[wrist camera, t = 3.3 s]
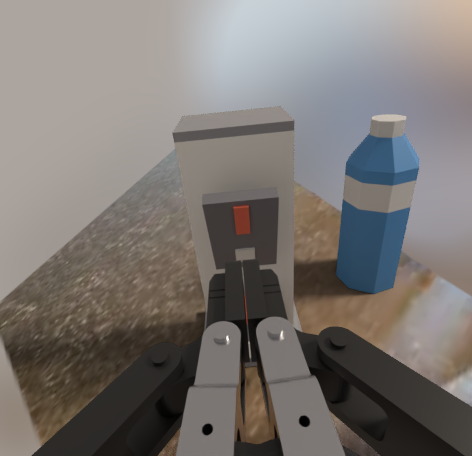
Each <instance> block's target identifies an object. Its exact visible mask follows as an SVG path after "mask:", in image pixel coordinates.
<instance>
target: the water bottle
mask: <svg viewBox="0 0 472 456" xmlns="http://www.w3.org/2000/svg"><path fill="white" fill-rule="evenodd" d="M405 120H406V116H401V115H378V116H373V117H372V119H371V128H370V133H369V135H368V136H367V137H366V138H365V139H364V140H363V142H362V143H361V144H360V145H359V146H358V147H357V149H355V151H354V152H353V153H352V154H351V156H350V157H349V159H348V161H347V163H346V172H345V182H344V193H343V204H342V215H341V226H340V237H339V248H338V259H337V269H336V276H337V277H338V278H339V279H340V280H341V281H342V282H343V283H344V284H345V285H346V286H347V287H348V288H350V289H354V290H359V291H363V292H367V293H371V294H375V293H378V292H381V291H384V290H387V289H390V288H393V285H394V281H395V276H396V271H397V267H398V262H399V258H400V253H401V248H402V244H403V239H404V234H405V230H406V225H407V220H408V216H409V211H410V207H411V202H412V198H413V193H414V188H415V184H416V179H417V174H418V170H419V157H418V156H417V154H416V152H415V151H414V149H413V147H412V146H411V144H410V142H409V141H408V139H407V138H406V136H405V134H404V127H405Z"/></svg>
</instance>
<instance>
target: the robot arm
mask: <svg viewBox="0 0 472 456" xmlns="http://www.w3.org/2000/svg"><path fill="white" fill-rule="evenodd" d="M242 262H243V274H244V285H243V275H242V265H241V260H238V261H227V262H225V273H219V274H214V275H213V277H212V278H211V280H210V281H209V292H208V307H207V321H206V329H205V331H204V333H203V334H202V336H201V337H200V338H198V339H197V340H196V341H194V342H192V343H190V344H188V345H185V346H182V347H180V348H179V347H178V346H177V345H175V344H173V343H169V342H163V343H159V344H156V345H154V346H152V347H151V348H149V349H148V350H147V351H146V352H145V353H144V354H143V355H141V356H140V357H139V358H138V359H137V360H136V361H135V362H134V363H133V364H132V365H130V366H129V367H128V368H127V369H126V370H125V371H124V372H123V373H122V374H121V375H120V376H118V377H117V378H116V379H115V380H114V381H113V382H112V383H111V384H110V385H109V386H107V387H106V388H105V389H104V390H103V391H102V392H101V393H100V394H99V395H98V396H96V397H95V398H94V399H93V400H92V401H91V402H90V403H89V404H88V405H87V406H86V407H84V408H83V409H82V410H81V411H80V412H79V413H78V414H77V415H76V416H75V417H73V418H72V419H71V420H70V421H69V422H68V423H67V424H66V425H65V426H64V427H62V428H61V429H60V430H59V431H58V432H57V433H56V434H55V435H54V436H53V437H52V438H50V439H49V440H48V441H47V442H46V443H45V444H44V445H43V446H42V447H41V448H39V449H38V450H37V451H36V452H35V453H34V454H33V455H32V456H158V454H159V453H160V452H161V451H162V449H163V448H164V447H165V446H166V444H167V443H168V442H169V441H170V439H171V438H172V437H173V436H174V435H175V433H176V432H177V431H178V430H179V428H180V427H181V431H180V436H179V441H178V447H177V452H176V456H359V455H358V454H356V453H355V452H353V451H352V450H350V449H348V448H346V447H344V446H342V445H341V442H340V439H339V437H338V434H337V431H336V428H335V426H334V423H333V420H332V418H331V415H330V412H329V411H331V412H332V413H333V414H334V415H335V416H336V417H338V418H339V419H340V420H341V421H342V422H343V423H344V424H346V425H347V426H348V427H349V428H350V429H351V430H352V431H354V432H355V433H356V434H357V435H358V436H359V437H360V438H362V439H363V440H364V441H365V442H366V443H367V444H368V445H370V446H371V447H372V448H373V449H374V450H375V451H377V452H378V453H379V454H380V455H381V456H472V407H471V406H469V405H468V404H466V403H465V402H463V401H461V400H460V399H458V398H457V397H455V396H453V395H452V394H450V393H449V392H447V391H445V390H444V389H442V388H441V387H439V386H437V385H436V384H434V383H433V382H431V381H429V380H428V379H426V378H425V377H423V376H422V375H420V374H418V373H417V372H415V371H414V370H412V369H410V368H409V367H407V366H406V365H404V364H402V363H401V362H399V361H398V360H396V359H394V358H393V357H391V356H390V355H388V354H386V353H385V352H383V351H382V350H380V349H378V348H377V347H375V346H374V345H372V344H370V343H369V342H367V341H366V340H364V339H362V338H361V337H359V336H358V335H356V334H354V333H353V332H351V331H350V330H348V329H345V328H342V327H328V328H326V329H324V330H322V331H321V332H320V334H319V336H318V335H313V334H307V333H304V332H301V331H299V330H297V329H295V328H294V326H293V325H292V323H290V322H289V321H288V318H287V314H286V310H285V306H284V301H283V297H282V293H281V289H280V285H279V280H278V276H277V275H276V274H275V273H274V271H273V270H272V269H263V270H260V267H259V260H258V259H249V260H242ZM244 286H245V295H244ZM245 298H246V307H245ZM246 310H247V319H246ZM247 321H248V331H249V341H250V350H251V360H252V362H257V370H258V375H259V378H260V382H261V388H262V393H263V398H264V403H265V409H266V414H267V419H268V424H269V430H270V436H271V440H269V441H267V442H264V443H262V444H251V443H246V374H245V363H247V362H250V356H249V344H248V332H247Z"/></svg>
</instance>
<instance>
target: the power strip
mask: <svg viewBox="0 0 472 456" xmlns="http://www.w3.org/2000/svg"><path fill="white" fill-rule="evenodd" d="M173 138H174V143H175V148H176V154H177V159H178V164H179V169H180V174H181V180H182V185H183V190H184V195H185V200H186V206H187V211H188V216H189V221H190V226H191V232H192V237H193V242H194V247H195V252H196V258H197V263H198V268H199V273H200V279H201V284H202V289H203V294H204V299H205V305H206V312H205V327H204V331H205V329H206V321H207V307H208V292H209V281H210V280H211V278H212V277H213V275H214V274H219V273H225V269H217V270H216V266H215V261H214V257H213V252H212V248H211V243H210V239H209V234H208V230H207V225H206V220H205V216H204V211H203V207H202V194H210V193H221V192H231V191H241V190H251V189H261V188H271V187H277V191H278V195H279V210H278V237H277V263H276V264H270V265H259V267H260V270H263V269H272V270H273V271H274V273H275V274H276V275H277V276H278V280H279V285H280V289H281V293H282V297H283V301H284V306H285V310H286V314H287V318H288V321H289V322H290V323H292V325H293V326H294V328H295V329H297V330H299V331H301V332H302V330H301V326H300V322H299V319H298V315H297V312H296V308H295V304H294V120H293V119H292V118H291V117H290V116H289V115H288V114H287V113H286V111H284V109H283V108H282V107H280V106H279V107H269V108H260V109H251V110H241V111H230V112H221V113H211V114H201V115H191V116H183V117H182V118H181V120H180V121H179V123H178V125H177V126H176V128H175V130H174V132H173ZM242 275H243V285H244V274H243V267H242ZM248 367H250V366H248Z"/></svg>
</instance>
